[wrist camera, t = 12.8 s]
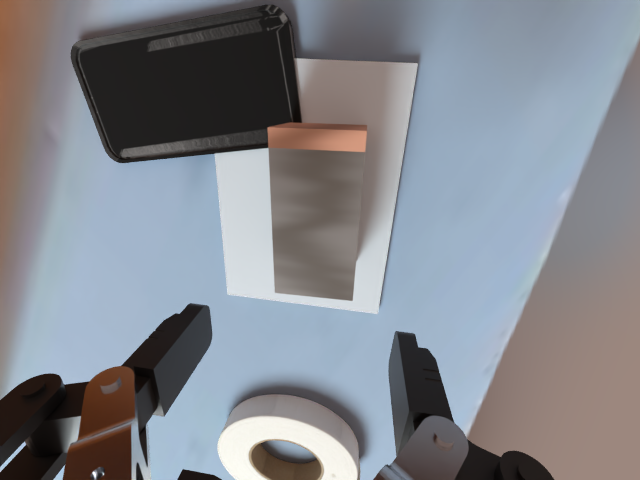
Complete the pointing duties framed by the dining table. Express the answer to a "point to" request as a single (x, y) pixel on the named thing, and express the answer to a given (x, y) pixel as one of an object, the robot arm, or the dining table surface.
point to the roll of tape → (292, 426)
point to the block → (316, 206)
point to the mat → (377, 190)
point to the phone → (191, 85)
